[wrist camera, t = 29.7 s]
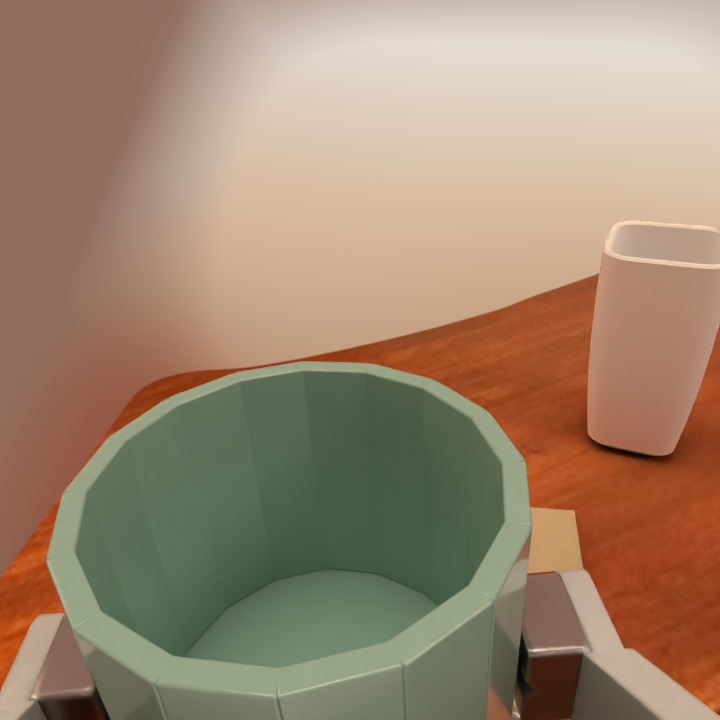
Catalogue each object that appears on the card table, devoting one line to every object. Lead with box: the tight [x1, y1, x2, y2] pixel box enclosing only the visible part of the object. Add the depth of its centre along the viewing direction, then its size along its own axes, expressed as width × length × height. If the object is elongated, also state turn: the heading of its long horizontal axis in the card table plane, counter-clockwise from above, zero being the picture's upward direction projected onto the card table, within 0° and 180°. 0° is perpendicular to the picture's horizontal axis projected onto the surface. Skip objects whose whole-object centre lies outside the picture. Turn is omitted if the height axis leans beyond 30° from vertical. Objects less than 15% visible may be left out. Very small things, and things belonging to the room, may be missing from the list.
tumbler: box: [46, 361, 532, 720], centre depth 11 cm, size 6×6×9 cm
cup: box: [587, 221, 720, 456], centre depth 43 cm, size 7×7×15 cm
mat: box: [513, 507, 583, 706], centre depth 35 cm, size 24×18×1 cm
